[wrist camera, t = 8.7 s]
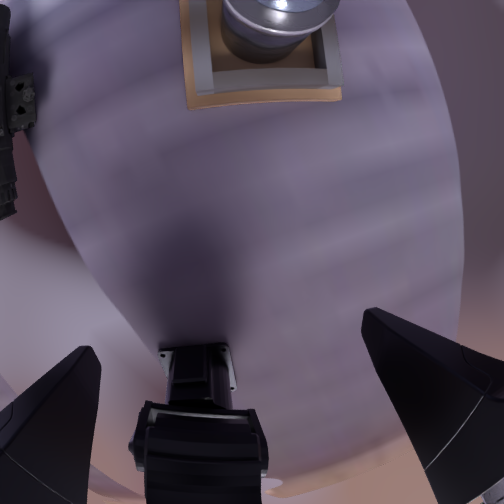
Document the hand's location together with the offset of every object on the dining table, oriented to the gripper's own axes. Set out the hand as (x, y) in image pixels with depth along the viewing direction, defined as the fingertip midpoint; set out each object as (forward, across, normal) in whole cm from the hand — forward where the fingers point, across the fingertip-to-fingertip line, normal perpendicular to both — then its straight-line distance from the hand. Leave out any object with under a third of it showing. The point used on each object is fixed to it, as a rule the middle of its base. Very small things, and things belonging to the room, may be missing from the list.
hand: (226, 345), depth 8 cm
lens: (+12, -4, -13) cm, 18 cm away
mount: (+13, -4, -13) cm, 19 cm away
